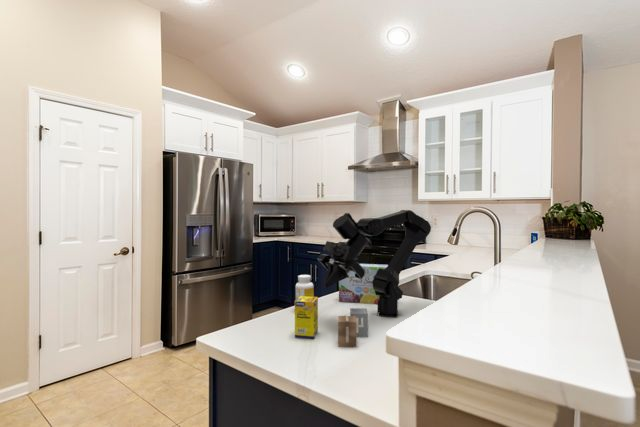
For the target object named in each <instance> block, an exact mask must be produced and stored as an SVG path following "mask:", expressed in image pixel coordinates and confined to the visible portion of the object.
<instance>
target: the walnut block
mask: <svg viewBox="0 0 640 427" xmlns="http://www.w3.org/2000/svg"><path fill="white" fill-rule="evenodd" d="M337 334H338V335H337V339H338V340H337V341H338V343H337V347H339V348H357V337H356V316H350V315H338V316H337Z"/></svg>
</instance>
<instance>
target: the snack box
mask: <svg viewBox="0 0 640 427" xmlns="http://www.w3.org/2000/svg"><path fill="white" fill-rule="evenodd" d="M359 264H360V265H361V266H362V268H363V269H364V270H365V275H364V276H363V278H362V279H359V278H356V277H355V272H353V271H352V272H350V273H349V274H348V276H349V278H345V279H343V280H341V281H339V282H338V302H339V303H340V302H341V303H342V302H343V303H356V304H357V303H359V304H368V303H369V304H370V305H371V304H372V305H378V299H379V295H376V294H375V291H374V289H373V284H372V282H373V279H374V278H373V277H374V276H375V275H376V273H377V271H378V269H379V268H380V269H385V268H387V266H388V265H389V264H378V263H376V264H375V263H359Z"/></svg>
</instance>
